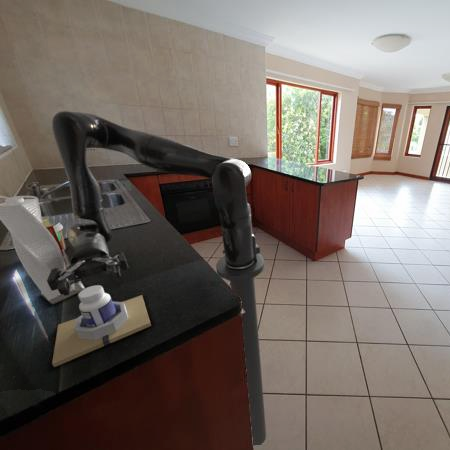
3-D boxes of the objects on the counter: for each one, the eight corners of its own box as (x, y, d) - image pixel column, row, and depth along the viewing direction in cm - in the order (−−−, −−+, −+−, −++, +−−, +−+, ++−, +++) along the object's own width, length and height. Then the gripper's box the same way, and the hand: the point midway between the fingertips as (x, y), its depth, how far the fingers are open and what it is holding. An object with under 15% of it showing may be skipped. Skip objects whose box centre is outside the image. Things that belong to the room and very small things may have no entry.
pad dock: (142, 298, 62) (139, 287, 61) (151, 325, 54) (147, 314, 52) (59, 328, 53) (53, 316, 51) (54, 367, 44) (46, 354, 43)
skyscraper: (44, 308, 58) (-13, 199, 47) (32, 297, 62) (-24, 193, 51) (86, 289, 65) (44, 190, 54) (73, 280, 69) (31, 185, 58)
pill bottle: (118, 311, 56) (106, 280, 53) (118, 325, 52) (106, 292, 49) (89, 320, 53) (75, 289, 50) (87, 336, 50) (72, 303, 46)
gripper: (48, 250, 58) (38, 282, 46) (119, 235, 66) (125, 258, 55) (59, 276, 61) (53, 312, 49) (126, 258, 69) (134, 285, 58)
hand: (91, 284), depth 52 cm, fingers open, 8 cm apart
